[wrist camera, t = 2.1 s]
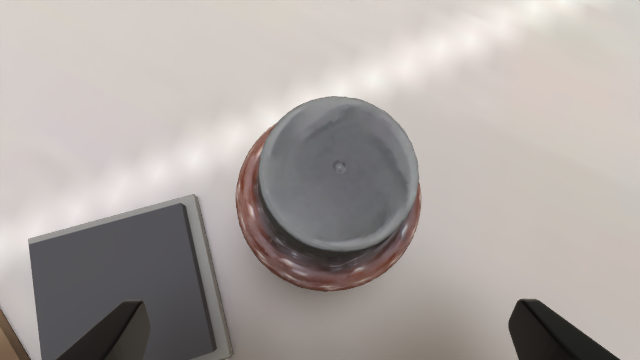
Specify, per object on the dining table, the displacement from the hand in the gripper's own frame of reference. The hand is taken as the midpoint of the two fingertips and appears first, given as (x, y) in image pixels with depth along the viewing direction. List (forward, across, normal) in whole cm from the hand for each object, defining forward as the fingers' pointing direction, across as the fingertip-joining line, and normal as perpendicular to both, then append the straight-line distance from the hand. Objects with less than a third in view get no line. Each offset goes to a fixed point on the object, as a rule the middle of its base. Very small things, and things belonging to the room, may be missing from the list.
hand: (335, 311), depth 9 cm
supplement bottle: (+10, 0, +5) cm, 11 cm away
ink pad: (+7, +9, +7) cm, 14 cm away
